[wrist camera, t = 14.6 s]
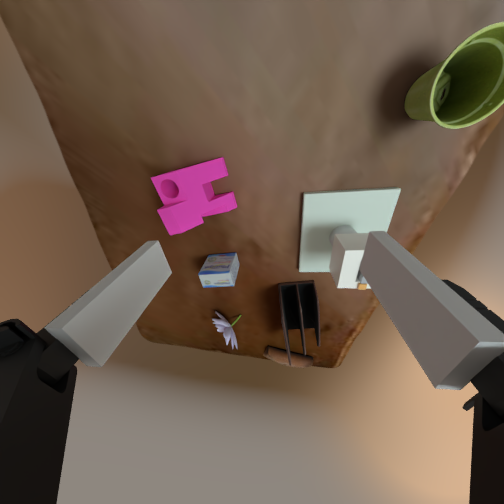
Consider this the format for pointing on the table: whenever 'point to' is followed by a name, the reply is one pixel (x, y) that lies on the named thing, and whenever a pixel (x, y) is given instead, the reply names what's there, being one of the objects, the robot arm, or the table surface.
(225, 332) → the water lily
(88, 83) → the table surface
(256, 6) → the table surface
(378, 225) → the shaft stand
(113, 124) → the table surface
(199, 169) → the bracket
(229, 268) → the medicine box
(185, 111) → the table surface
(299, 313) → the letter holder
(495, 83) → the plant pot
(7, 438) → the robot arm
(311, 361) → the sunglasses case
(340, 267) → the slotted block
